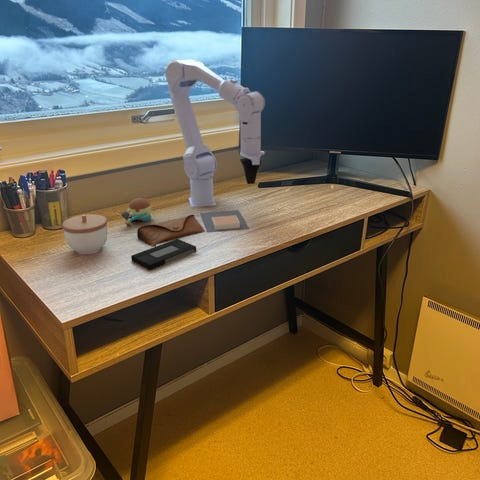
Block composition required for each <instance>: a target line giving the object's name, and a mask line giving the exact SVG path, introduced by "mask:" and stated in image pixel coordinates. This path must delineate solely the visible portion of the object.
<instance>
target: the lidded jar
mask: <svg viewBox="0 0 480 480" xmlns="http://www.w3.org/2000/svg"><path fill="white" fill-rule="evenodd" d="M107 219H108V218H107V217H105V216H103V215H101V214H91V213H90V214H79V215H76V216H72V217H69V218H68V219H66V220H64V221H62V223H61V225H62V226H61V227H62V229H63V230H62V231H63V235H64V237H65V240H66V243H67V244H68V247H70V249H72V250H73V251H75V252H76V253H77V254H79V255H85V256H87V255H88V256H89V255H92V254H96V253H98V252H100V251H101V250H102V248H103V247H104V246H105V244H106V242H107V239H108V220H107Z"/></svg>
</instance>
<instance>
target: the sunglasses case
mask: <svg viewBox="0 0 480 480" xmlns="http://www.w3.org/2000/svg"><path fill="white" fill-rule="evenodd" d="M136 232H137V233H136V237H137V239H138V240H140V242H141V241H142V242H143V243H145V244H146V245H148V246H150V247H151V248H153V247H156V246H157V245H161V244H164V243H167V242H170V241H173V240H175V239H180V238H184V237H187V236H191V235H197V234H200V233H204V232H206V229H205V228H204V227H203V226H202V225H201V223H199V221H198V219H197V218H196V217H195V214H190V215H187V216H183V217H178V218H173V219H170V220H165V221H161V222H157V223H154V224H146V225H141V226H140V227H139V228H138V229H137V231H136Z"/></svg>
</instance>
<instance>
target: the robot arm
mask: <svg viewBox="0 0 480 480" xmlns="http://www.w3.org/2000/svg"><path fill="white" fill-rule="evenodd" d="M164 75H165V78H166V81H167V84H168V94H169V97H170V101H171V103H172V107H173V110H174V112H175V116H176V119H177V123H178V126H179V128H180V131H181V135H182V139H183V141H184V144H185V145H184V146H185V148H186V150H185V152H184V154H183V156H182V159H183V163H184V164H183V169H184V172H185V175H187V177H188V179H189V183H190V197H188V200H189V204H190V207H191V208H199V207H200V208H201V207H214V206H215V207H216V206H217V203H216V201H215V198H214V178H213V176H214V175H215V173H214V172H216V170H217V169H218V161H217V159H216V157H215V156H214V155H213V153H212V149H211V148H210V147H209V146H207V145H206V144H204V141H203V137H202V134H201V132H200V129H199V125H198V121H197V117H196V115H195V111H194V109H193V105H192V103H191V99H190V96H189V94H190V92H191V90H192V88H193V87H194V86H195V84H197V83H198V81H199V82H201V83H203V84H205V85H206V86H208V87H211V88H212V89H214V90H216V91H217V92H218V95H219V98H221V99H222V100H223V101H226V102H227V103H229V104H230V105H231V106H234V107H235V109H236V111H237V113H238V115H239V119H238V120H239V121H240V122H239V123H240V124H239V125H240V126H239V128H240V152H239V155H240V157H243V158H240V159H239V161H240V163H241V165H242V168H243V172H244V177H245V181H246V183H247V185H253V184H255V183H256V179H257V176H258V175H257V174H258V171H259V168H260V166H261V165H262V160H261V156H262V155H263V156H264V155H265V151H263V150H261V145H262V142H261V140H262V139H261V137H262V136H261V129H262V128H261V127H262V126H261V125H262V123H261V121H262V119H261V118H262V117H261V115H262V111H263V110H264V108H265V106H266V101H265V100H266V99H265V98H264V96H263V95H262V94H261V93H260V91H251V90H250V89H249V87H244V86H243V85H241V84H239V83H238V80H236V79H235V78H227V79H223V78H222V77H221V76H219V75H218V74H216V73H215V72H213V71H212V70H211V69H210V68H208V67H206V65H204V62H202V61H199V60H198V59H195V58H191V59H179V60H176V59H172V60H170V61H169V62H168V64H167V66H166V68H165V70H164Z"/></svg>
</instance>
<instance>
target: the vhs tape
mask: <svg viewBox="0 0 480 480" xmlns="http://www.w3.org/2000/svg"><path fill="white" fill-rule="evenodd" d="M194 253H197V246H196V245H194V244H191V243H190V242H189V243H188V242H187V241H184V240H181V239H180V238H177V239H173V240H170V241H166V242H163V243H161V244H158V245H156V246H155V247H151V248H148V249H146V250H142V251H140V252H136V253H135V254H132V255H130V257H131V259H130V260H131V262H133V264H134V263H135V264H136V265H138V266H139V267H142V268H143V269H146V270H148V271H153V270H156V269H158V268H161V267H163V266H165V265H167V264H169V263H172V262H175V261H177V260H180V259H182V258H184V257H187V256H190V255H192V254H194Z"/></svg>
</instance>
